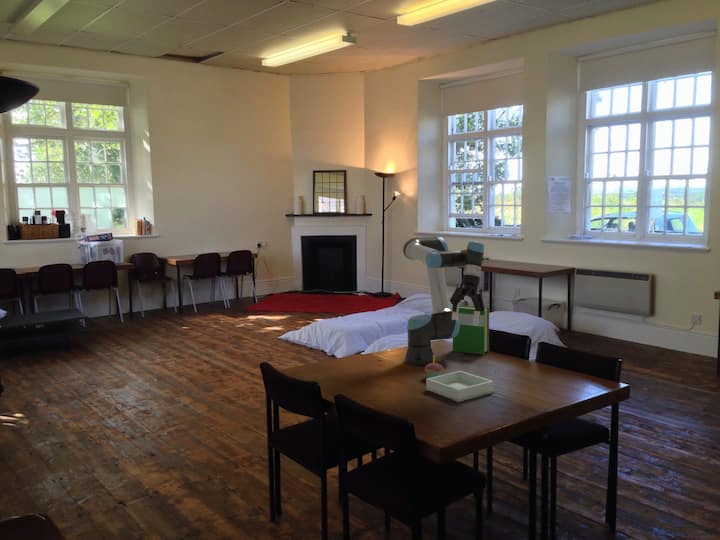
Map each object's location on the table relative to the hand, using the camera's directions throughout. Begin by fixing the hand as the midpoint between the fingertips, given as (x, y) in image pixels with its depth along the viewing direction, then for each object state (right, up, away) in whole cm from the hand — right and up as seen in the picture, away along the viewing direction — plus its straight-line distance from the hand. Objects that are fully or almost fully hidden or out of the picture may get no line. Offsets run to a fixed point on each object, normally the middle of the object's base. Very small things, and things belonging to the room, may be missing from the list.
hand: (464, 322), depth 269 cm
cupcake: (-12, -27, +12) cm, 32 cm away
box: (-4, -29, -7) cm, 30 cm away
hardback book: (+13, -21, +59) cm, 64 cm away
